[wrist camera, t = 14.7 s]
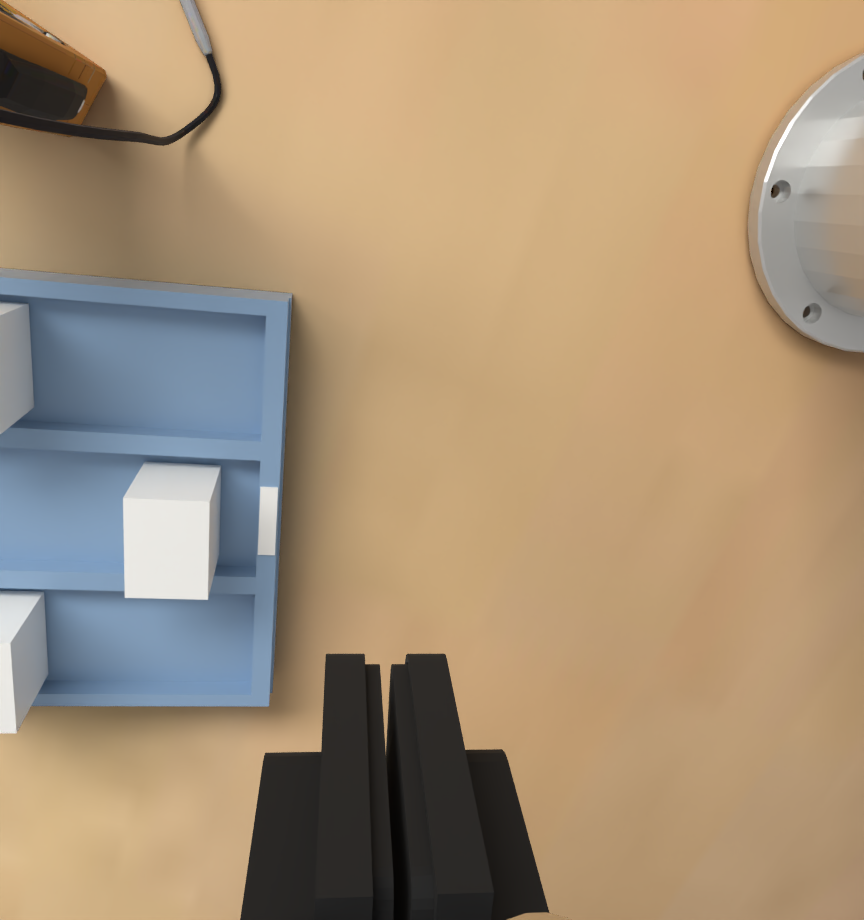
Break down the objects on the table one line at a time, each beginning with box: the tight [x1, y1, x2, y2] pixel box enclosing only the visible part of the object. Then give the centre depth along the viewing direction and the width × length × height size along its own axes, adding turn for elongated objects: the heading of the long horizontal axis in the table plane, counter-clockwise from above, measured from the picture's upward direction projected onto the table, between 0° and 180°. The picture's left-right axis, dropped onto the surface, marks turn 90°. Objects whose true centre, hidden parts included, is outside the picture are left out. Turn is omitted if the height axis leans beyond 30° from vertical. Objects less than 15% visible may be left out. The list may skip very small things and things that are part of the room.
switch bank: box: [0, 268, 292, 706], centre depth 33 cm, size 16×18×3 cm
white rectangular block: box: [123, 462, 221, 600], centre depth 31 cm, size 3×4×4 cm
